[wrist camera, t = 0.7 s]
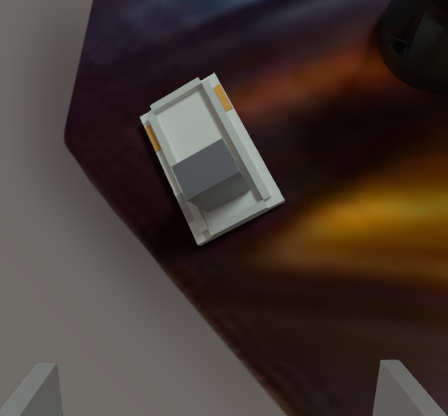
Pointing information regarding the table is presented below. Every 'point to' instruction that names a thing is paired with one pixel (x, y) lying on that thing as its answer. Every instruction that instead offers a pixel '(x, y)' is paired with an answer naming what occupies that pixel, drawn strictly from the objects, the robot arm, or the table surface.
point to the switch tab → (210, 177)
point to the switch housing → (202, 137)
